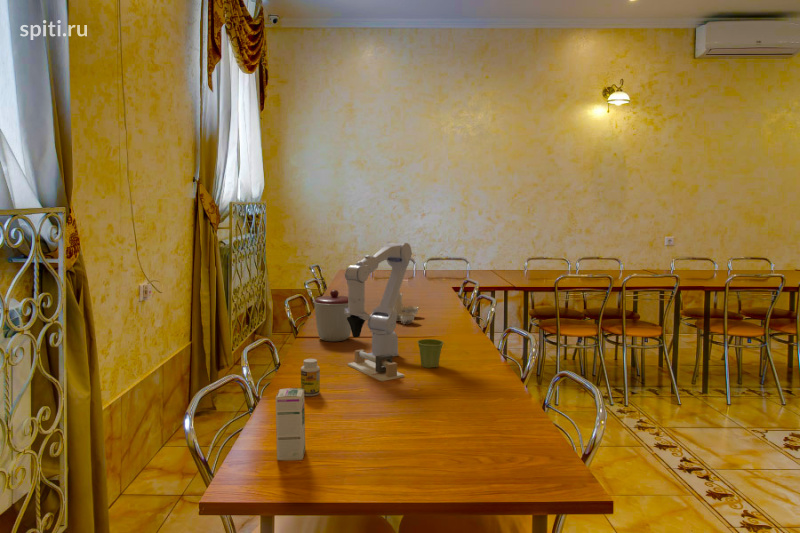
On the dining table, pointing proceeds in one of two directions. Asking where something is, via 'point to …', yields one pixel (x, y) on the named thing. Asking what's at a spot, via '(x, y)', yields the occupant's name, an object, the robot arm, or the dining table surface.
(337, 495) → the dining table surface
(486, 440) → the dining table surface
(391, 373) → the pipe rig
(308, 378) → the supplement bottle
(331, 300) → the canister
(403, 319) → the chinaware
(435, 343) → the plant pot
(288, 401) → the syrup box
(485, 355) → the dining table surface
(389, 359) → the grey square collar
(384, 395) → the dining table surface
